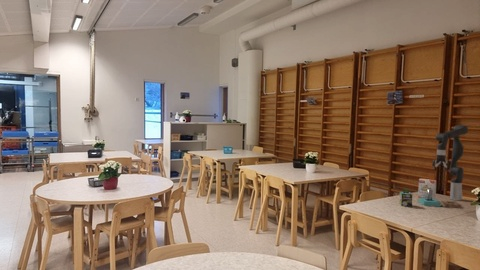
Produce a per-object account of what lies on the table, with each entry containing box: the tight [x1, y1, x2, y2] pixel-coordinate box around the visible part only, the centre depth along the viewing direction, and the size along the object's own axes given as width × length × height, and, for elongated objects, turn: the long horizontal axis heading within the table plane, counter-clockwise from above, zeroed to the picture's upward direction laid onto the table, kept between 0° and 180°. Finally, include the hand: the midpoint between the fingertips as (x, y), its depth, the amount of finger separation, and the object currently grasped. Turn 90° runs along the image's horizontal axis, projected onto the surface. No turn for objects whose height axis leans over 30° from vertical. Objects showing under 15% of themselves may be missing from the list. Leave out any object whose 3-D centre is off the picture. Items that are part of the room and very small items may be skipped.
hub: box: [418, 198, 442, 207], centre depth 300 cm, size 14×14×4 cm
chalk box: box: [399, 188, 413, 208], centre depth 294 cm, size 9×9×15 cm
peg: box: [427, 189, 433, 201], centre depth 300 cm, size 4×4×14 cm
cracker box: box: [417, 178, 437, 200], centre depth 316 cm, size 14×6×21 cm, turn 43°
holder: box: [440, 200, 462, 209], centre depth 296 cm, size 12×12×3 cm
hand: (440, 171), depth 311 cm, fingers open, 8 cm apart
